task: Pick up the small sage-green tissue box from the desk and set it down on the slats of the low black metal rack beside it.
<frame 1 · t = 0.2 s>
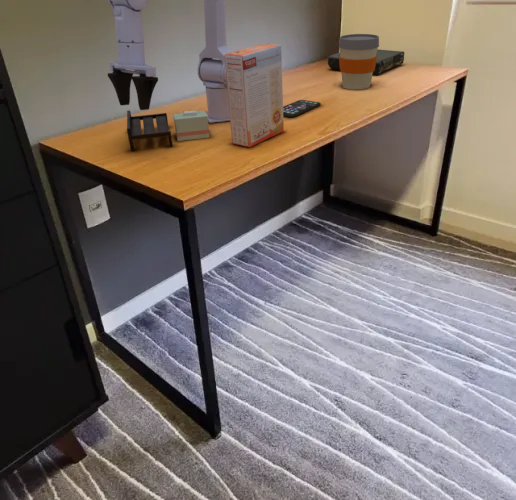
hand: (134, 107, 111), 11 cm above the table, tool pointing down, fingers open, 7 cm apart
smartphone: (296, 109, 141), on the table
tissue box: (192, 136, 124), on the table
rack: (150, 138, 124), on the table
network switch: (365, 68, 184), on the table
reusable coffee cup: (356, 86, 161), on the table
cracker box: (258, 138, 121), on the table
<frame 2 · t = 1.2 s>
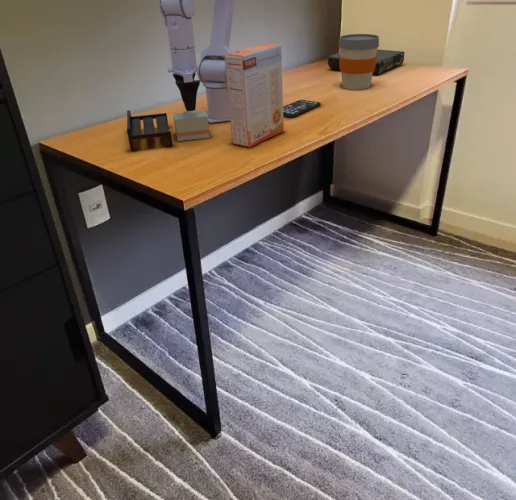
hand: (189, 106, 120), 8 cm above the table, tool pointing down, fingers open, 7 cm apart
nothing on the table moved.
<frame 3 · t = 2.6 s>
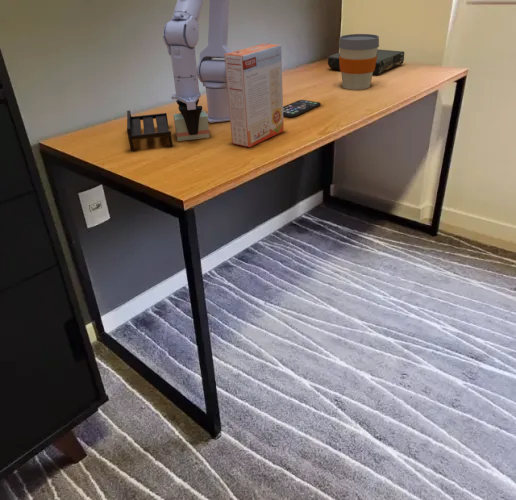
hand: (192, 130, 124), 1 cm above the table, tool pointing down, fingers closed on tissue box, 5 cm apart
tissue box: (192, 136, 124), on the table, touching gripper
everything else where it was.
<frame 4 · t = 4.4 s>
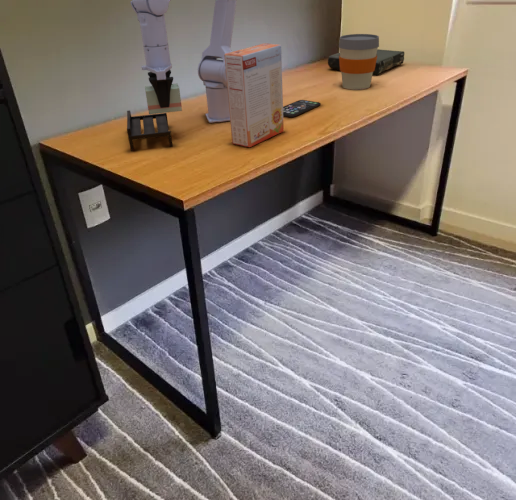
hand: (164, 104, 120), 8 cm above the table, tool pointing down, fingers closed on tissue box, 5 cm apart
tissue box: (165, 110, 121), point 7 cm above the table, touching gripper
everything else where it was.
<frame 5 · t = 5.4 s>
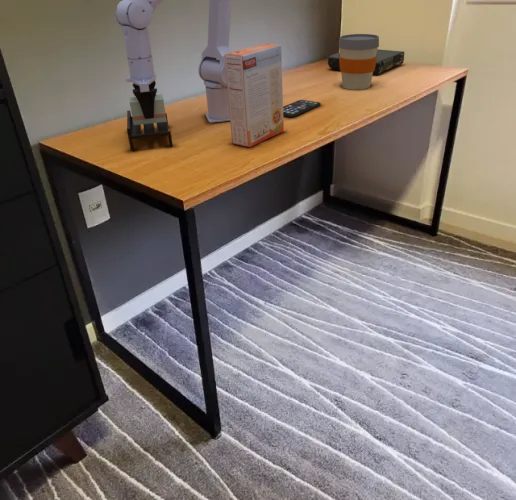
hand: (149, 114, 121), 6 cm above the table, tool pointing down, fingers closed on tissue box, 5 cm apart
tissue box: (149, 120, 122), point 5 cm above the table, touching gripper
everything else where it was.
when the fingers open (5 cm above the table, at t = 6.2 s): tissue box stays where it is, resting on rack.
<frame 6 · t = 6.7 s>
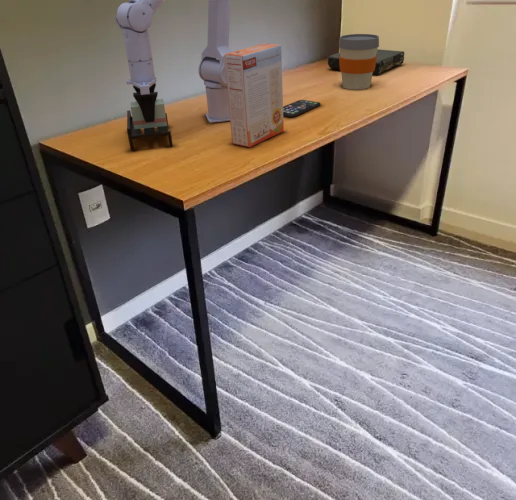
hand: (149, 117, 122), 5 cm above the table, tool pointing down, fingers open, 7 cm apart
tissue box: (150, 124, 123), point 3 cm above the table, touching rack
everything else where it was.
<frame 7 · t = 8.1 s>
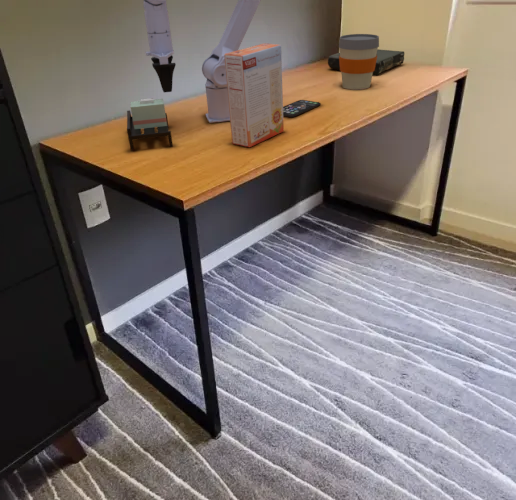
hand: (166, 88, 128), 10 cm above the table, tool pointing down, fingers open, 7 cm apart
nothing on the table moved.
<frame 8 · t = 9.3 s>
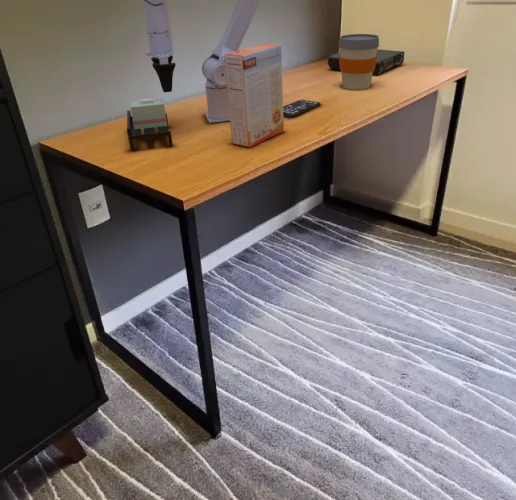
hand: (166, 88, 128), 10 cm above the table, tool pointing down, fingers open, 7 cm apart
nothing on the table moved.
at the end: tissue box inside the target area on the rack (0.5 cm from its centre), point 3.5 cm above the rack's base; tissue box tilted 0°; the gripper is holding nothing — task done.
